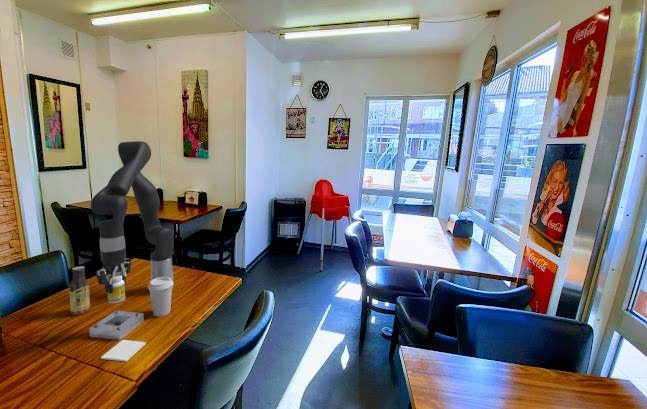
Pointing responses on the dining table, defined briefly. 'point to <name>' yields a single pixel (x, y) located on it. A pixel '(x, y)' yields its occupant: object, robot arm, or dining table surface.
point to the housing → (111, 331)
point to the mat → (123, 350)
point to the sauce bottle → (79, 292)
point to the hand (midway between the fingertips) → (116, 289)
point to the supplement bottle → (117, 290)
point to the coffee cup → (161, 295)
